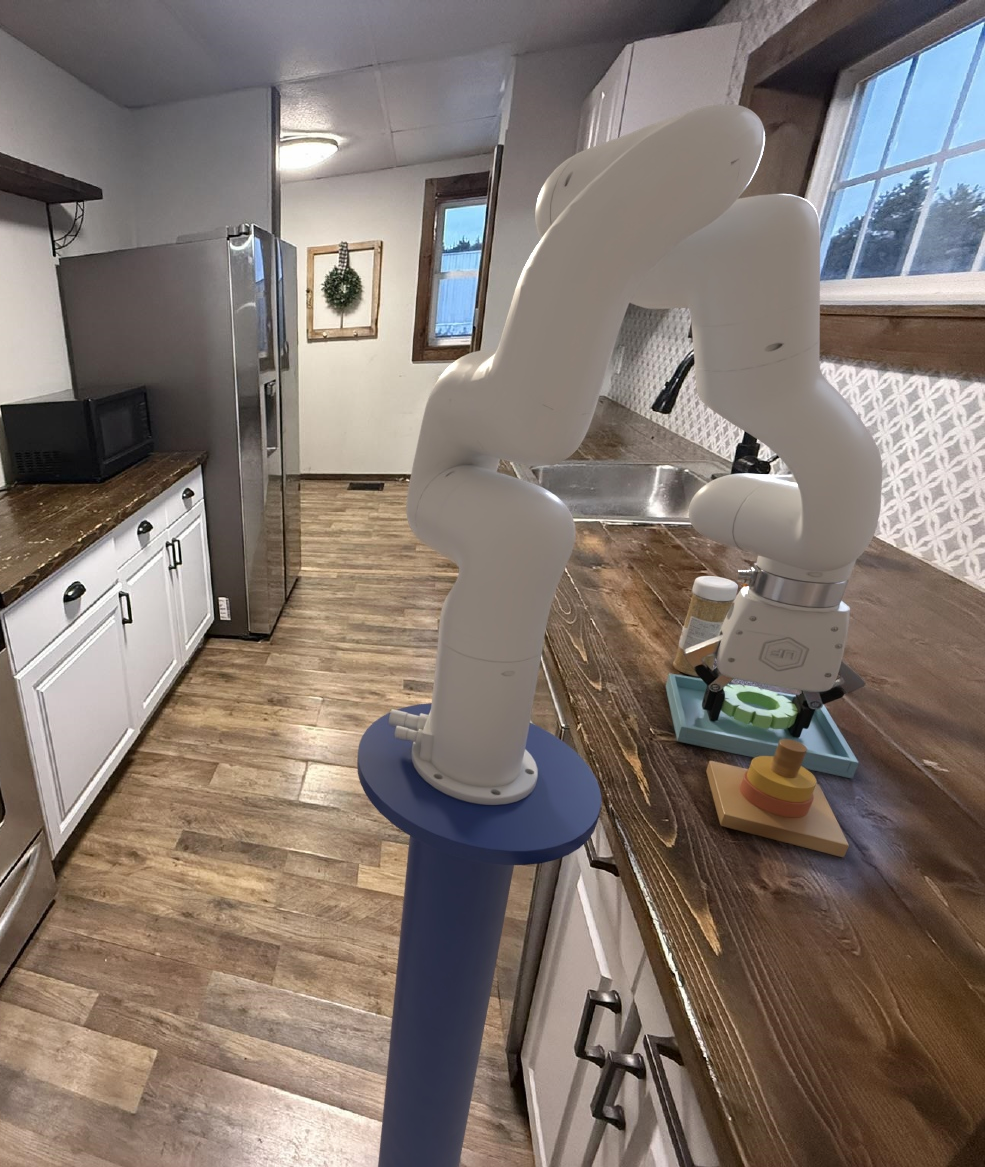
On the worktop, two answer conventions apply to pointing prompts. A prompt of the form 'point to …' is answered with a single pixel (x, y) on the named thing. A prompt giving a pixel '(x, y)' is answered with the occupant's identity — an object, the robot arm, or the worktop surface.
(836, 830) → the stand
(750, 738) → the tray
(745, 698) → the ring
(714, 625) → the sprinkles bottle
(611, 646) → the worktop surface
